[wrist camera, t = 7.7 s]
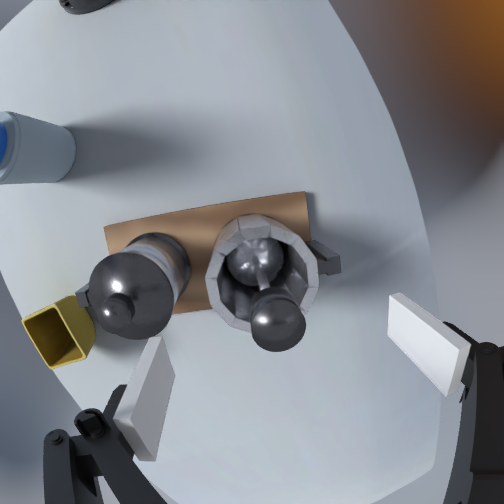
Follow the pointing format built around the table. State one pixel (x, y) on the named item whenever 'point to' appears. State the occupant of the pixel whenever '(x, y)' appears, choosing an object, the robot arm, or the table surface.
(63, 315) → the flower pot
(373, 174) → the table surface
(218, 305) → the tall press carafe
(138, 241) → the short press
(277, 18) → the table surface
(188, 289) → the serving board
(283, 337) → the plunger
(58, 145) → the spray bottle
